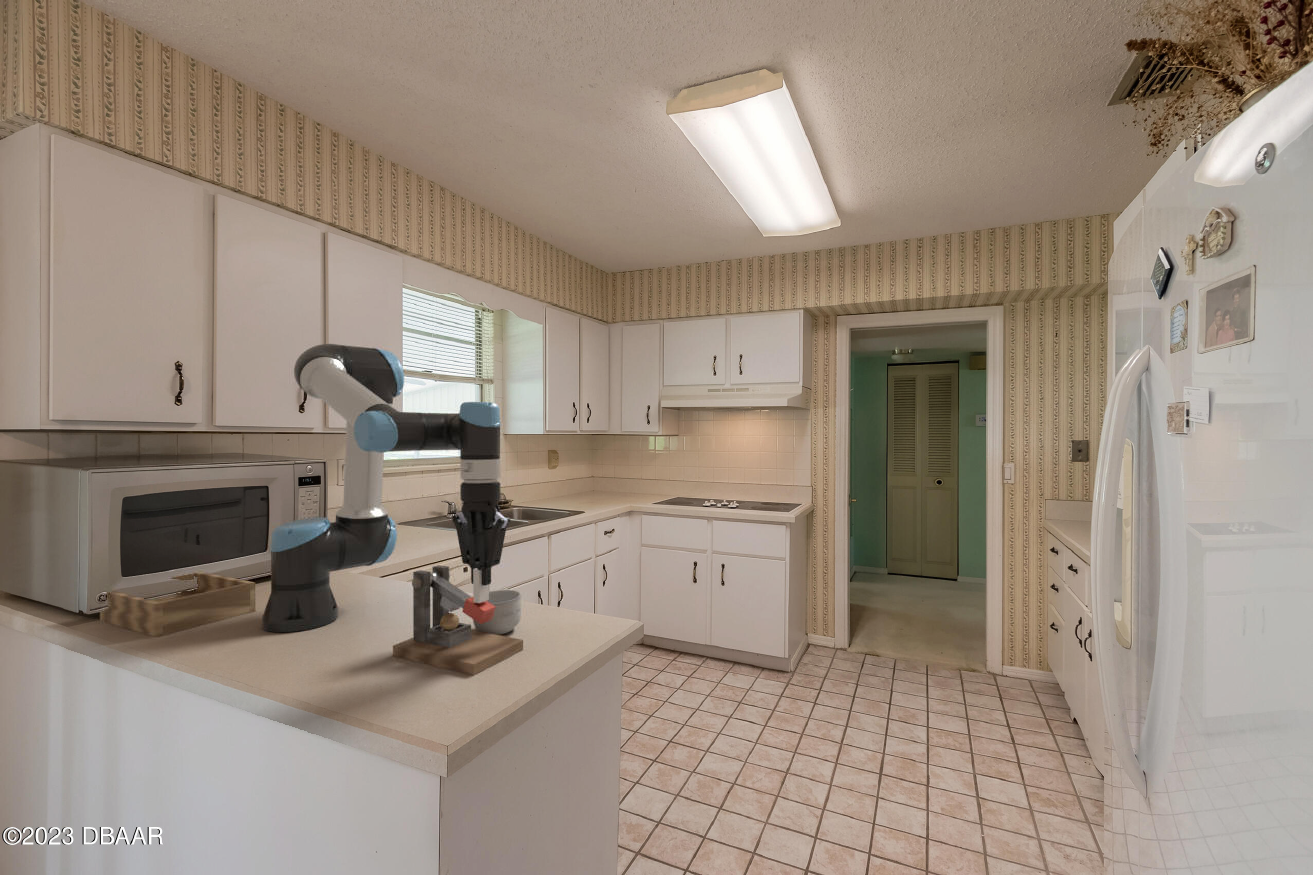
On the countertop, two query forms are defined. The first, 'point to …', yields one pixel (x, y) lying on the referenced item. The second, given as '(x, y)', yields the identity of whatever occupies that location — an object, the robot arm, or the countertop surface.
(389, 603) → the countertop surface
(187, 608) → the open wooden box
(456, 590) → the lever
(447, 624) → the walnut
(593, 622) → the countertop surface
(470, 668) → the press base
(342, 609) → the countertop surface
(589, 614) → the countertop surface
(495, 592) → the teacup
